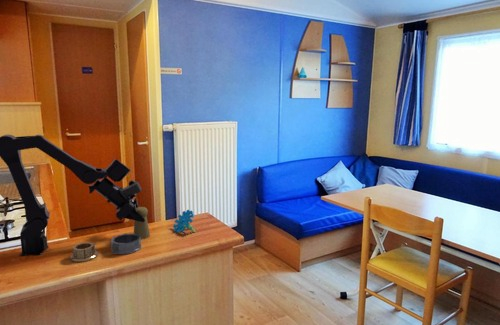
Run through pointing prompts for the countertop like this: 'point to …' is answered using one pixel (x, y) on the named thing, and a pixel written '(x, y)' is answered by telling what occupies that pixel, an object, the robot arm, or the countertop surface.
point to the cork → (142, 224)
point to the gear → (184, 221)
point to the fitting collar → (125, 244)
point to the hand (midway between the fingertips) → (144, 218)
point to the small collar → (84, 252)
